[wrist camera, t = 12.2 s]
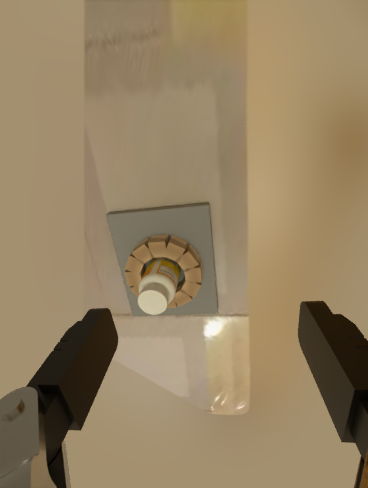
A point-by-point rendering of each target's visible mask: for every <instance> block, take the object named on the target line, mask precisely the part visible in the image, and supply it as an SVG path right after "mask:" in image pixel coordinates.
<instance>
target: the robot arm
mask: <svg viewBox="0 0 368 488" xmlns="http://www.w3.org/2000/svg"><path fill="white" fill-rule="evenodd" d="M298 338H299V343H300V346H301V349H302V351H303V354H304V356H305V358H306V360H307V363H308V365H309V367H310V370H311V372H312V374H313V377H314V379H315V381H316V384H317V386H318V388H319V391H320V393H321V395H322V397H323V400H324V402H325V405H326V407H327V409H328V411H329V414H330V416H331V418H332V421H333V423H334V425H335V428H336V430H337V432H338V435H339V437H340V439H341V441H342V442H351V443H352V442H353V443H356V445H357V447H358V450H359V452H360V454H361V458H360V461H359V466H358V471H357V475H356V481H355V485H354V488H368V341H367V339H366V338H364V335H363V334H362V333H361V332H360V330H359V329H358V328H357V327H356V325H355V324H354V323H353V322H351V321H350V320H348V319H347V318H346V317H344V316H343V315H341V314H333V313H332V312H331V310H330V309H329V307H328V306H327V305H326V303H325V302H324V301H306V302H301V305H300V315H299V327H298ZM117 345H118V335H117V331H116V328H115V325H114V321H113V318H112V315H111V312H110V310H109V309H108V308H99V309H90V310H89V311H88V312H87V313H86V315H85V316H84V318H83V319H82V321H78V322H77V323H75V324H74V325H73V326H72V327H71V328H69V329H68V330H67V331H66V333H65V334H64V336H63V337H62V338H61V340H60V342H58V344H57V345H56V346H55V348H54V351H52V352H51V353H50V355H49V356H48V357H47V359H46V360H45V361H44V363H43V364H42V366H41V367H40V368H39V370H38V371H37V372H36V374H35V375H34V377H33V378H32V379H31V381H30V382H29V383H28V385H27V386H26V387H22V388H19V389H16V390H14V391H12V392H10V393H9V394H7V395H6V396H4V397H3V398H2V399H0V488H71V485H70V477H69V468H68V460H67V452H66V445H65V441H64V438H65V436H66V434H67V432H68V430H81V429H82V426H83V424H84V422H85V420H86V417H87V415H88V413H89V411H90V408H91V406H92V404H93V401H94V399H95V397H96V395H97V392H98V390H99V388H100V385H101V383H102V381H103V378H104V376H105V374H106V372H107V369H108V367H109V365H110V362H111V360H112V358H113V356H114V353H115V351H116V349H117Z"/></svg>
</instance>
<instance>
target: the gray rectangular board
mask: <svg viewBox="0 0 368 488" xmlns="http://www.w3.org/2000/svg"><path fill="white" fill-rule="evenodd" d="M106 217H107V220H108V224H109V228H110V232H111V235H112V239H113V243H114V247H115V251H116V254H117V258H118V262H119V266H120V269H121V273H122V277H123V281H124V285H125V288H126V292H127V296H128V300H129V303H130V307H131V311H132V315H133V316H155V315H151V314H148V313H146V312H144V311H143V310H142V309H141V308H140V307H139V305H138V297H137V296H136V295H135V294H134V293H133V292H132V291H131V290H130V287H131V286H128V284H127V280H126V276H125V271H126V269H125V266H126V264H127V261H128V258H129V256H130V254H131V253H132V251H133V250H134V248H135V247H136V246H137V245H138V244H139V243H140V242H142V241H143V240H145V239H146V238H147V237H150V238H151V236H152V235H162V234H168V236H169V240H170V238H171V236H172V235H174V236H176V237H179V238H181V239H183V240H186V241H187V244H186V246H187V245H188V244H191V245H192V246H193V248H194V249H195V250H196V252H197V253H198V254H199V255H200V256H199V259H201V264H202V282H201V287H200V288H199V290H198V292H197V294H196V296H195V298H194V297H192V300H191V301H189V302H187V303H186V304H184V305H182V306H180V307H179V306H178V305H177V306H176V308H166V310H165V311H164V312H162V313H161V314H157V315H185V314H215V313H218V305H217V293H216V282H215V270H214V258H213V246H212V234H211V223H210V211H209V203H199V204H188V205H178V206H168V207H158V208H148V209H138V210H127V211H117V212H109V213H108V214H107V215H106ZM152 259H153V258H152ZM152 259H150V260H149V261H147V262H146V263H145V267H146V269H147V267H148V265H149V263H150V261H151V260H152ZM180 267H181V266H180ZM184 277H185V273H184V270H183V269H182V268H181V271H180V276H179V280H178V283H179V282H180V281H182V280H183V279H184Z"/></svg>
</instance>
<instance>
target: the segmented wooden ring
mask: <svg viewBox="0 0 368 488" xmlns="http://www.w3.org/2000/svg"><path fill="white" fill-rule="evenodd" d="M186 244H187V241H186V240H183V239H181V238H179V237H176V236H174V235H172V236H171V238H170V240H169V236H168V234H162V235H152V236H151V238H150V237H147V238H146V239H145V240H143V241H142V242H140V243H139V244H138V245H137V246H136V247H135V248H134V250H133V251H132V253H131V254H130V256H129V258H128V261H127V264H126V266H125V269H126V271H125V276H126V280H127V284H128V286H131V287H130V290H131V291H132V292H133V293H134V294H135V295H136V296H137V297H139V283H140V281H141V279H142V277H143V275H144V273H145V271H146V267H145V263H146V262H147V261H149V260H150V259H152V258H157V257H166V258H169V259H171V260H174V261H176V262H177V263H178V264H179V265H180V266H181V268H182V269H183V270H184V273H185V277H184V279H183V280H182V281H180V282H179V283H178V284H177V289H176V293H175V296H174V298H173V300H172V301H171V302H170V303H169V304H168V305H167V308H176V306H177V305H178V306H179V307H180V306H182V305H184V304H186V303H187V302H189V301H191V300H192V297H194V298H195V296H196V294H197V292H198V290H199V288H200V287H201V282H202V264H201V259H199V256H200V255H199V254H198V253H197V252H196V250H195V249H194V248H193V246H192V245H191V244H188V245H187V246H186Z"/></svg>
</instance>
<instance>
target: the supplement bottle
mask: <svg viewBox="0 0 368 488" xmlns="http://www.w3.org/2000/svg"><path fill="white" fill-rule="evenodd" d="M180 271H181V267H180V265H179V264H178V263H177V262H176V261H174V260H171V259H169V258H166V257H157V258H153V259H152V260H151V261H150V263H149V265H148V267H147V269H146V271H145V273H144V275H143V277H142V279H141V281H140V283H139V297H138V305H139V307H140V308H141V309H142V310H143V311H144V312H146V313H148V314H151V315H157V314H161V313H162V312H164V311H165V310H166V308H167V305H168V304H169V303H170V302H171V301H172V300H173V298H174V296H175V293H176V289H177V284H178V280H179V276H180Z"/></svg>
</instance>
